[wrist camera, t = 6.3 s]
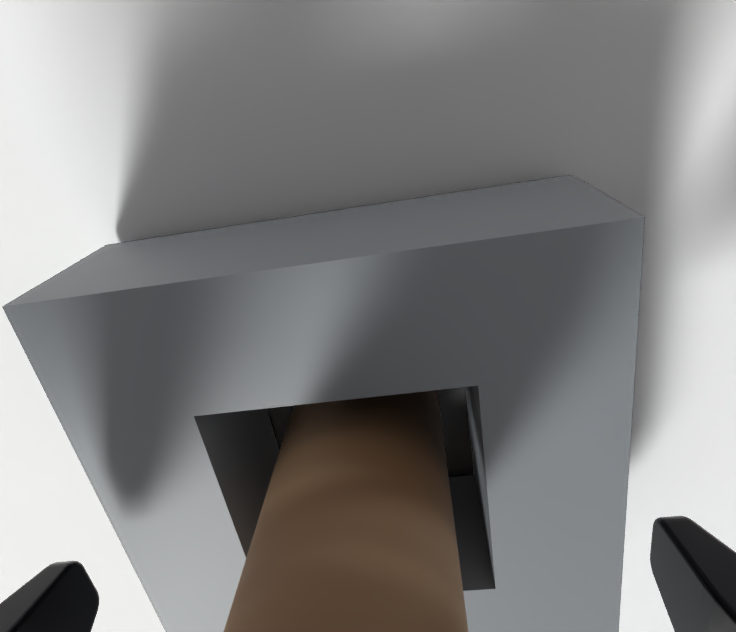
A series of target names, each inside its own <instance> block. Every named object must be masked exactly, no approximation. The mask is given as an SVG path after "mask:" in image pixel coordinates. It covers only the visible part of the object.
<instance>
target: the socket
mask: <svg viewBox="0 0 736 632" xmlns="http://www.w3.org/2000/svg"><path fill="white" fill-rule="evenodd" d="M644 222H645V217H644V216H642V215H640V214H638V213H637V212H635V211H633V210H632V209H630V208H628V207H626V206H625V205H623V204H621V203H620V202H618V201H616V200H614V199H613V198H611V197H609V196H608V195H606V194H604V193H603V192H601V191H599V190H597V189H596V188H594V187H592V186H591V185H589V184H587V183H585V182H584V181H582V180H580V179H579V178H577V177H575V176H573V175H567V176H561V177H554V178H547V179H541V180H534V181H527V182H521V183H514V184H508V185H501V186H494V187H488V188H481V189H474V190H468V191H461V192H454V193H448V194H441V195H434V196H428V197H421V198H415V199H408V200H401V201H395V202H388V203H381V204H375V205H368V206H361V207H355V208H348V209H341V210H335V211H328V212H322V213H315V214H308V215H302V216H295V217H288V218H282V219H275V220H268V221H262V222H255V223H248V224H242V225H235V226H229V227H222V228H215V229H209V230H202V231H195V232H189V233H182V234H175V235H169V236H162V237H155V238H149V239H142V240H136V241H129V242H122V243H116V244H109V245H105V246H104V247H102V248H100V249H99V250H97V251H95V252H94V253H92V254H90V255H89V256H87V257H85V258H83V259H82V260H80V261H78V262H77V263H75V264H73V265H72V266H70V267H68V268H67V269H65V270H63V271H62V272H60V273H58V274H57V275H55V276H53V277H51V278H50V279H48V280H46V281H45V282H43V283H41V284H40V285H38V286H36V287H35V288H33V289H31V290H30V291H28V292H26V293H25V294H23V295H21V296H19V297H18V298H16V299H14V300H13V301H11V302H9V303H8V304H6V305H4V306H3V309H4V311H5V313H6V315H7V317H8V319H9V321H10V323H11V325H12V327H13V329H14V331H15V333H16V335H17V337H18V339H19V341H20V343H21V345H22V347H23V349H24V351H25V353H26V355H27V357H28V359H29V361H30V363H31V365H32V367H33V369H34V371H35V373H36V375H37V377H38V379H39V381H40V383H41V385H42V387H43V389H44V391H45V393H46V395H47V397H48V399H49V401H50V403H51V405H52V407H53V409H54V411H55V413H56V415H57V417H58V419H59V421H60V423H61V424H62V426H63V428H64V430H65V432H66V434H67V436H68V438H69V440H70V442H71V444H72V446H73V448H74V450H75V452H76V454H77V456H78V458H79V460H80V462H81V464H82V466H83V468H84V470H85V472H86V474H87V476H88V478H89V480H90V482H91V484H92V486H93V488H94V490H95V492H96V494H97V496H98V498H99V500H100V502H101V504H102V506H103V508H104V510H105V512H106V514H107V516H108V518H109V520H110V522H111V524H112V526H113V528H114V530H115V532H116V534H117V536H118V538H119V540H120V542H121V544H122V546H123V548H124V550H125V552H126V554H127V556H128V558H129V560H130V562H131V564H132V566H133V568H134V570H135V572H136V574H137V576H138V578H139V579H140V581H141V583H142V585H143V587H144V589H145V591H146V593H147V595H148V597H149V599H150V601H151V603H152V605H153V607H154V609H155V611H156V613H157V615H158V617H159V619H160V621H161V623H162V625H163V627H164V629H165V631H166V632H224V629H225V625H226V622H227V619H228V616H229V612H230V609H231V606H232V603H233V599H234V596H235V593H236V590H237V587H238V583H239V580H240V577H241V574H242V570H243V567H244V564H245V561H246V557H247V554H248V551H249V548H250V545H251V541H252V538H253V535H254V532H255V528H256V525H257V522H258V519H259V515H260V512H261V509H262V506H263V503H264V499H265V496H266V493H267V490H268V486H269V483H270V480H271V477H272V473H273V470H274V467H275V464H276V460H277V457H278V454H279V448H278V445H277V441H276V438H275V435H274V431H273V428H272V424H271V421H270V418H269V414H268V411H267V408H275V407H284V406H293V405H303V404H312V403H321V402H331V401H340V400H349V399H358V398H368V397H377V396H386V395H396V394H405V393H414V392H424V391H433V390H442V389H451V388H461V387H465V389H466V399H467V410H468V420H469V430H470V440H471V450H472V461H473V471H474V475H469V476H458V477H449V484H450V492H451V500H452V508H453V515H454V523H455V531H456V539H457V547H458V554H459V562H460V570H461V578H462V586H463V593H464V601H465V609H466V617H467V624H468V632H619V616H620V600H621V584H622V569H623V553H624V537H625V521H626V506H627V490H628V474H629V458H630V443H631V427H632V411H633V395H634V380H635V364H636V348H637V332H638V317H639V301H640V285H641V270H642V254H643V238H644Z"/></svg>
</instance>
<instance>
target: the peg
mask: <svg viewBox="0 0 736 632" xmlns="http://www.w3.org/2000/svg"><path fill="white" fill-rule="evenodd" d="M224 632H468V624H467V617H466V609H465V601H464V593H463V586H462V578H461V570H460V562H459V554H458V547H457V539H456V531H455V523H454V515H453V508H452V500H451V492H450V484H449V476H448V469H447V461H446V453H445V445H444V437H443V430H442V422H441V414H440V406H439V399H438V394H437V390H433V391H424V392H414V393H405V394H396V395H386V396H377V397H368V398H358V399H349V400H340V401H331V402H321V403H312V404H303V405H294V406H293V409H292V412H291V415H290V418H289V422H288V425H287V428H286V431H285V435H284V438H283V441H282V444H281V448H280V451H279V454H278V457H277V460H276V464H275V467H274V470H273V473H272V477H271V480H270V483H269V486H268V490H267V493H266V496H265V499H264V503H263V506H262V509H261V512H260V515H259V519H258V522H257V525H256V528H255V532H254V535H253V538H252V541H251V545H250V548H249V551H248V554H247V557H246V561H245V564H244V567H243V570H242V574H241V577H240V580H239V583H238V587H237V590H236V593H235V596H234V599H233V603H232V606H231V609H230V612H229V616H228V619H227V622H226V625H225V629H224Z"/></svg>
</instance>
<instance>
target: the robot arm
mask: <svg viewBox="0 0 736 632" xmlns="http://www.w3.org/2000/svg"><path fill="white" fill-rule="evenodd" d="M650 562H651V568H652V571H653V575H654V577H655V580H656V583H657V585H658V588H659V591H660V593H661V596H662V599H663V601H664V604H665V607H666V609H667V612H668V615H669V617H670V620H671V623H672V625H673V628H674V631H675V632H736V552H734V551H733V550H732V549H730V548H729V547H728V546H726V545H725V544H724V543H722V542H721V541H720V540H718V539H717V538H716V537H714V536H713V535H711V534H710V533H709V532H707V531H706V530H705V529H703V528H702V527H701V526H699V525H698V524H697V523H695V522H694V521H692V520H691V519H689V518H687V517H684V516H674V517H660V518H657V519H656V520H655V521H654V524H653V532H652V543H651V553H650ZM98 606H99V595H98V592H97V590H96V588H95V586H94V585H93V583H92V581H91V579H90V577H89V576H88V574H87V572H86V570H85V568H84V567H83V565H82V564H81V563H79V562H78V561H67V562H56V563H53V564H51V565H49V566H48V567H46V568H45V569H44V570H43V571H41V572H40V573H39V574H37V575H36V576H35V577H34V578H32V579H31V580H30V581H29V582H27V583H26V584H25V585H23V586H22V587H21V588H20V589H18V590H17V591H16V592H15V593H13V594H12V595H11V596H9V597H8V598H7V599H6V600H4V601H3V602H2V603H1V604H0V632H91V629H92V626H93V623H94V620H95V617H96V614H97V611H98Z"/></svg>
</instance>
